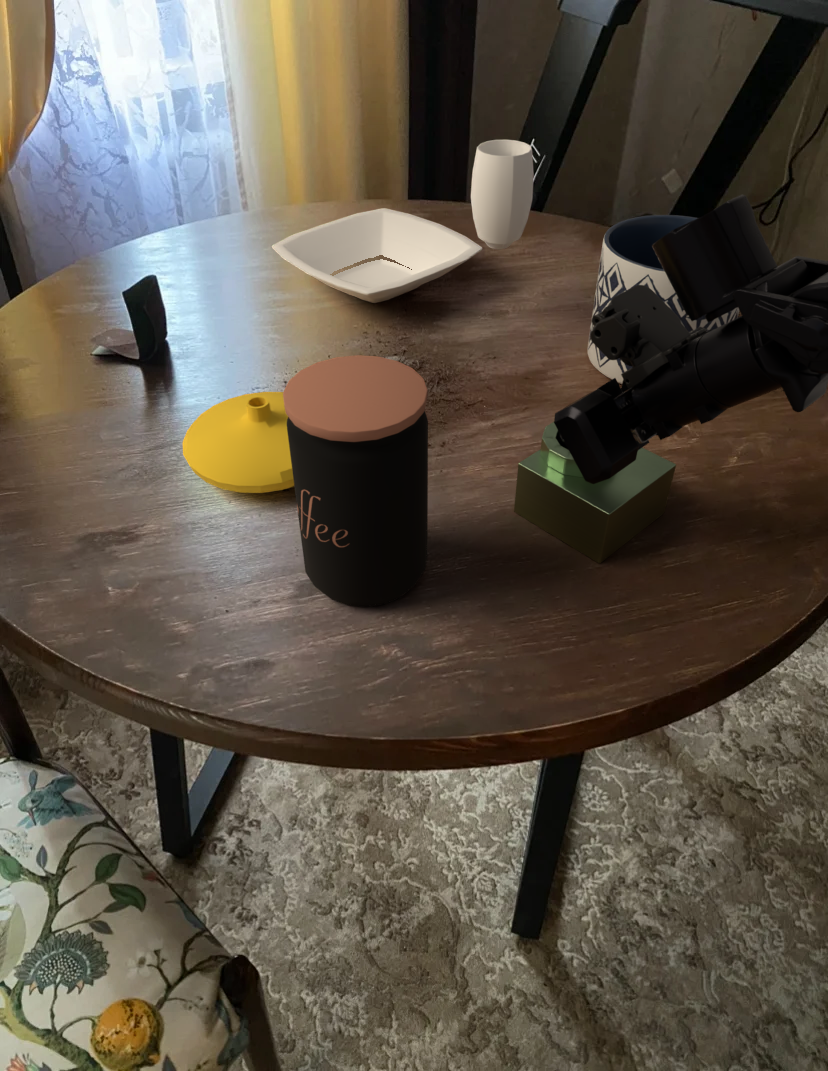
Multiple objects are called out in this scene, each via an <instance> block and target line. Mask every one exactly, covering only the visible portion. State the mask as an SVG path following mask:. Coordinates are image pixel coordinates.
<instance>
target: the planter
mask: <svg viewBox="0 0 828 1071" xmlns="http://www.w3.org/2000/svg"><path fill="white" fill-rule="evenodd" d="M697 218H698V217H694V216H688V215H687V216H686V215H677V214H676V215H675V214H652V215H642V216H641V215H640V216H636V217H632V218H627V219H624V220H622V221H618V222H617V223H615V224H613V225H612V226H611V227H609V228H608V229H607V230H606V232H605V233H604V236H603V240H602V245H601V246H602V247H601V253H600V258H599V266H598V271H597V277H596V278H597V279H596V286H595V291H594V292H595V294H594V299H593V306H592V312H591V318H592V317H593V316H595V315H596V314H598V313H600V312H602V311H603V310H604V308H605V307H607V306H608V305H609V303H610V302H611V300H612V299H613V298H614V297H616V296H617V295H619V294H621V293H623V292H625V291H627V290H629V289H631V288H633V287H635V286H637V285H644V286H647V287H649V288H650V289H651V290H652V291H653V292H654V293H655V294H656V295H657V296H658V297H659V298H660V299H661V300H662V301H663V302H664V303H665V304H666V305H667V306H668V307H669V308H670V309H671V310H672V311H673V312H674V313H675V314H676V315H677V316H678V317H679V318H680V320H681V323H682V325H683V326H684V327H685V328H686V329H687V331H688V332H691V331H693V330H695V329H697V328H699V327H703V328H705V329H708V330H710V329H712V330H714V329H716V328H718V327H720V326H722V325H724V324H726V323H728V322H730V321H732V320H734V319H736V318H738V317H739V314H740V310H739V308H738V307H737V308H735V309H733V310H731V311H730V312H728V313H726V314H724V315H722V316H720V317H718V318H716V319H714V320H712V321H710V322H707V320H706V318H705V315H704V316H702V317H700V318H698V319H696V320H694V321H691V319H690V317H689V315H688V316H687V314H686V312H685V310H684V309H683V307H682V305H681V303H680V301H679V299H678V297H677V295H676V293H675V291H674V289H673V287H672V285H671V283H670V281H669V279H668V277H667V275H666V273H665V271H664V269H663V267H662V265H661V263H660V261H659V259H658V257H657V255H656V253H655V251H654V249H653V247H652V245H653V244H654V243H655V242H656V241H658V240H659V239H660V238H662V237H663V236H665V235H666V234H668V233H669V232H671V231H672V230H674V229H676V228H678V227H680V226H682V225H684V224H687V223H689V222H691V221H693V220H695V219H697ZM593 326H594V325H593V324H592V319H591V321H590V327H589V335H588V340H587V356H588V359H589V362H590V363H591V364H592V365H593V367H594V368H595V369H596V370H597V371H599V372H600V373H601V374H602V375H604V376H605V377H607V378H608V379H609V380H612V379H614V378H616V380H617V382H618V384H619V385H620V384H621V385H622V383H623V377H622V376H621V374H622V373H624V372H625V371H627V370H629V369H630V368H632V366H628V365H626V364H625V363H623V362H622V361H621V360H620V359H619V358H618V359H617V360H609V359H608V358H607V357H606V356H605V355H604V354H603V353H602V352H601V351H600V350H599V349H598V348H597V347H596V345H595V344H594V343H593V342H592V341H591V336H590V333H591V331H592V330H593Z"/></svg>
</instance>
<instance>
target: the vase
mask: <svg viewBox="0 0 828 1071" xmlns="http://www.w3.org/2000/svg"><path fill="white" fill-rule="evenodd" d="M283 392H284V391H259V392H252V393H245V394H242V395H237V396H233V397H231V398H227V399H225V400H223V401H221V402H219V403H216V404H214V405H212V406H211V407H209V408H208V409H206V410H204V411H203V412H202V413H201V414H200V415H198V416H197V417H196V419H195V420H194V421H193V422H192V423H191V424H190V426H189V428H188V429H187V430H186V432H185V435H184V438H183V440H182V442H181V443H182V445H181V446H182V455H183V457H184V459H185V460H186V462H187V464H188V465H189V468H190V469H191V470H192V472H193V473H194V474H195V475H196V476H197V477H199V479H201V480H202V481H204V482H205V483H206V484H209V485H211V486H214V487H216V488H218V489H220V490H225V491H230V492H235V493H242V494H263V493H271V492H277V491H284V490H287V489H290V488H294V479H293V471H292V463H291V456H290V448H289V440H288V432H287V419H288V416H287V414H286V411H285V407H284V399H283Z"/></svg>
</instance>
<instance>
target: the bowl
mask: <svg viewBox="0 0 828 1071" xmlns="http://www.w3.org/2000/svg"><path fill="white" fill-rule="evenodd" d="M271 247H272V249H273V250H274V251H275V252H276V253H277V254H278V255H279V257H281V258H282V259H283V260H285V261H286V262H288V263H289V264H291V265H292V266H293V267H296V268H297V269H299V270H300V271H302V272H303V273H305V274H307V275H308V276H310V277H312V278H314V279H315V280H317V281H318V282H321V283H322V284H324V285H326V286H327V287H330V288H332V289H335V290H338V291H339V292H342V293H344V294H347V295H349V296H352V297H355V298H358V299H360V300H362V301H366V302H369V303H372V304H376V303H381V302H386V301H389V300H392V299H395V298H396V297H399V296H401V295H403V294H407V293H408V292H411V291H414V290H415V289H418V288H419V287H420V286H422V285H424V284H427V283H429V282H432V281H433V280H437V279H438V278H441V277H442V276H444V275H446V274H448V273H449V272H451V271H453V270H454V269H456V268H457V267H459V266H460V265H462V264H464V263H465V262H467V261H468V260H470V259H472V258H473V257H474V256H475V255H478V253H480V252H481V251H483V247H482V246H481V245H479V244H478V243H476V242H475V241H473V240H472V239H470V238H469V237H467V236H466V235H464V234H461V233H459V232H457V231H456V230H453V229H451V228H450V227H447V226H445V225H443V224H442V223H441V224H440V223H438V222H435V221H432V220H429V219H426V218H423V217H421V216H417V215H414V214H411V213H407V212H403V211H399V210H394V209H390V208H386V207H382V208H377V209H372V210H367V211H361V212H357V213H354V214H351V215H348V216H347V215H346V216H344V217H340V218H338V219H335V220H332V221H329V222H326V223H322V224H320V225H316V226H314V227H310V228H308V229H305V230H302V231H299V232H296V233H293V234H291V235H289V236H287V237H285V238H283V239H282V240H279V241H277V242H276V243H274V244H273V245H271ZM379 255H383V256H384V257H387V258H390V259H392V260H395V261H396V262H398V263H400V264H402V265H404V266H402V265H399V264H397V263H394V262H390V261H387V260H383V259H380V260H375V261H371V262H367V263H364V264H361V265H359V266H356V267H353V268H351V269H348V270H345V271H343V272H340V273H338V274H336V275H334V276H332V275H330V274H332V273H333V272H334V271H337V270H339V269H342V268H344V267H347V266H350V265H353V264H354V263H357V262H360V261H362V260H365V259H368V258H374V257H376V256H379ZM405 266H406V267H405ZM407 267H409V268H410V269H409V268H407ZM411 269H412V270H411Z"/></svg>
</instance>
